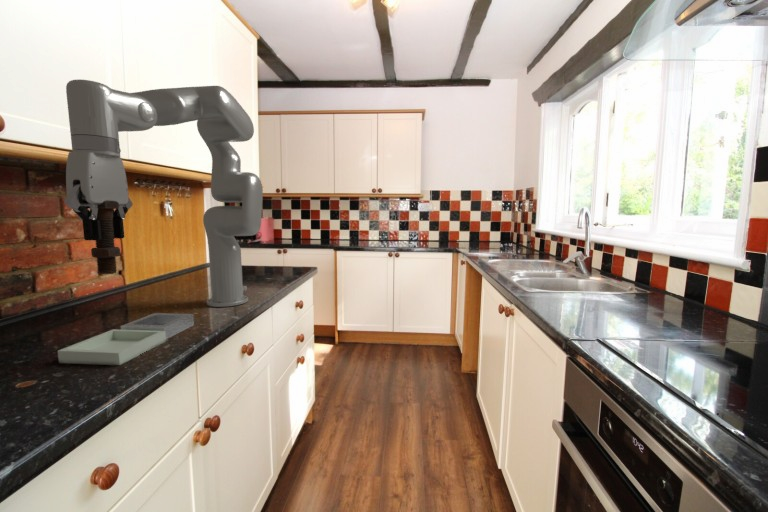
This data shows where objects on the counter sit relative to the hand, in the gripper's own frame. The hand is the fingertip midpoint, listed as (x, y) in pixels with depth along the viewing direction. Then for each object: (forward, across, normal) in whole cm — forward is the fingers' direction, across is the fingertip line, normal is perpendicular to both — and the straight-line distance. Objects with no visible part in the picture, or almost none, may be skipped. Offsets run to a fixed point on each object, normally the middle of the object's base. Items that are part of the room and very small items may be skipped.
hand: (105, 238), depth 73 cm
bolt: (+8, 0, 0) cm, 8 cm away
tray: (+24, 0, 0) cm, 24 cm away
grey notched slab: (+24, -13, 0) cm, 28 cm away
